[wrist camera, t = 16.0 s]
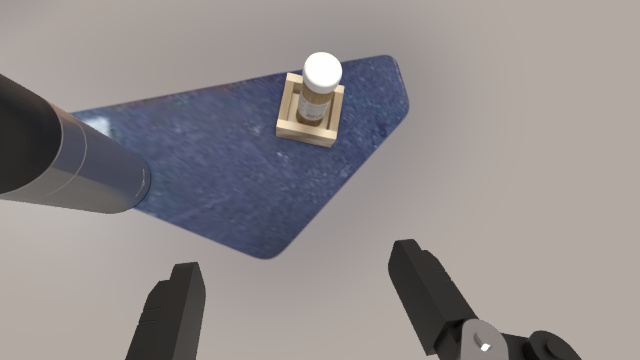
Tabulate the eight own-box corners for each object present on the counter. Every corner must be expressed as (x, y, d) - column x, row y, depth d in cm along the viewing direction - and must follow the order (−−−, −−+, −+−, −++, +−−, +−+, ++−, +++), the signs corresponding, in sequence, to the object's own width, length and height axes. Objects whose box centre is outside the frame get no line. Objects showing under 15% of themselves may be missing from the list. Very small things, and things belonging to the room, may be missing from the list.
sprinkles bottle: (325, 108, 46) (346, 57, 33) (319, 132, 45) (338, 90, 32) (298, 100, 45) (309, 45, 32) (291, 125, 44) (300, 79, 31)
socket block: (276, 136, 44) (276, 126, 40) (286, 86, 46) (287, 72, 42) (330, 147, 45) (336, 139, 41) (338, 98, 47) (344, 86, 43)
